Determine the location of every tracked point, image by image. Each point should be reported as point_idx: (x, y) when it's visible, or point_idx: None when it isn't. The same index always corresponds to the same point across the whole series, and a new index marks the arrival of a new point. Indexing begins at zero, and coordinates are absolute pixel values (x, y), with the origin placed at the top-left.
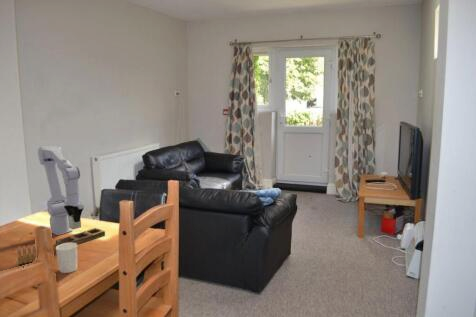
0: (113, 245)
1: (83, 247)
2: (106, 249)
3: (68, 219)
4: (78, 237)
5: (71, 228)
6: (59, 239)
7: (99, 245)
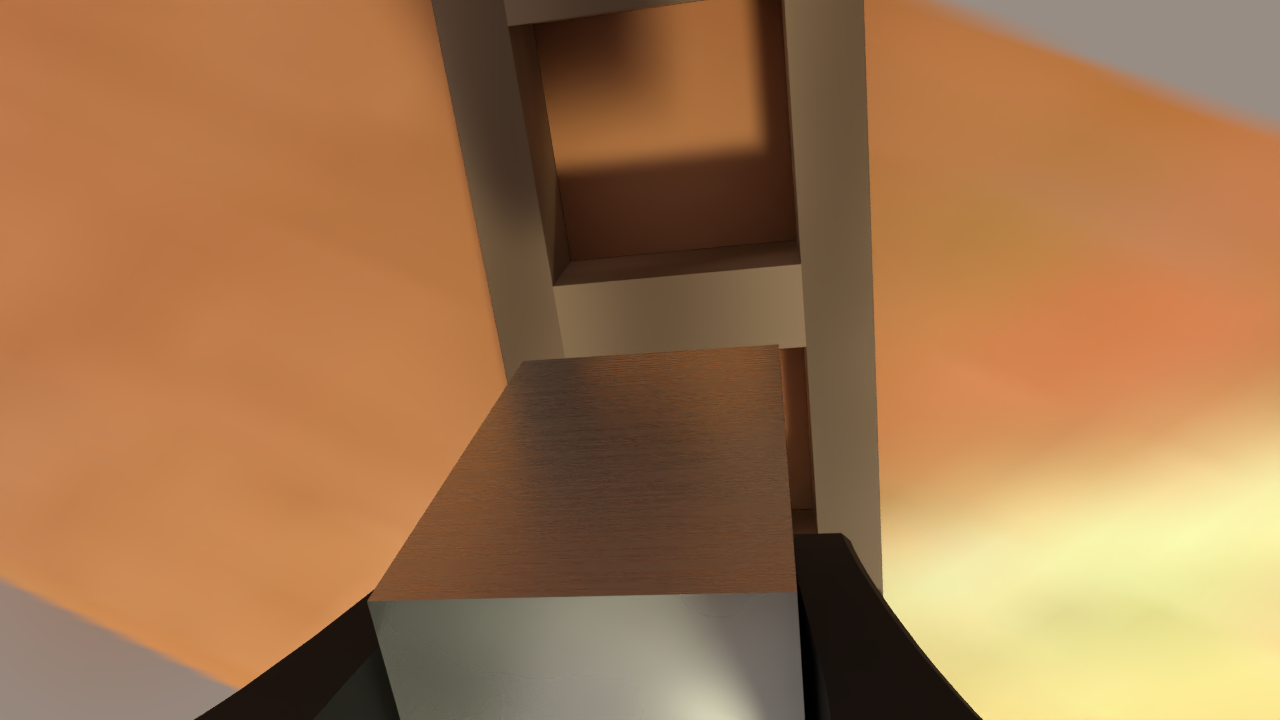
0: (115, 623)
1: (292, 284)
2: (10, 491)
3: (768, 483)
4: (809, 428)
5: (620, 358)
6: (832, 21)
7: (228, 499)
